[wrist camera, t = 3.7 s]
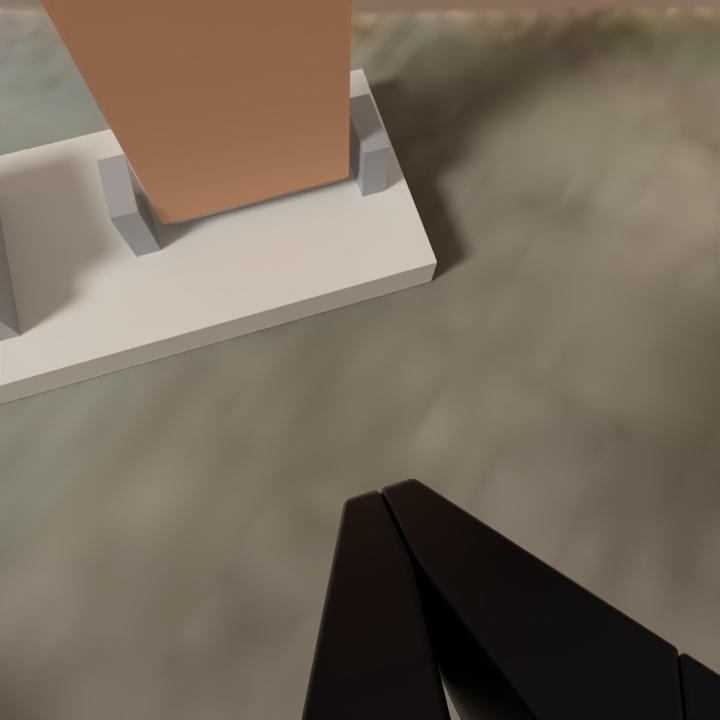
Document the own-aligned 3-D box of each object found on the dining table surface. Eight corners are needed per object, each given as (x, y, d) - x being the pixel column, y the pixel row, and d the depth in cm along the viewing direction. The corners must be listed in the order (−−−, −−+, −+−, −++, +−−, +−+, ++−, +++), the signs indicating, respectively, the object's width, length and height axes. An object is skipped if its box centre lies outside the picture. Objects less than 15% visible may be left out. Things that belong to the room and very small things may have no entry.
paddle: (348, 188, 21) (354, -167, 11) (169, 235, 20) (-12, -95, 10) (335, 151, 21) (327, -225, 11) (159, 196, 20) (-24, -161, 10)
